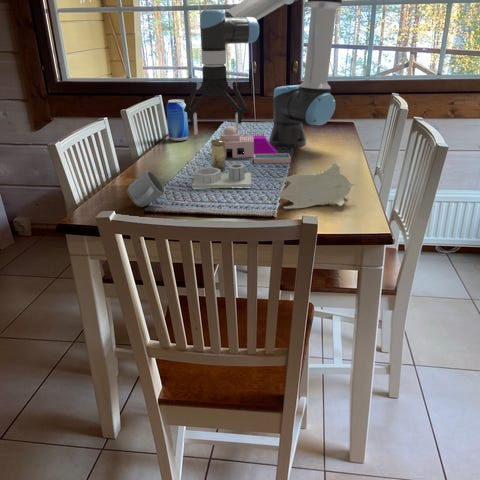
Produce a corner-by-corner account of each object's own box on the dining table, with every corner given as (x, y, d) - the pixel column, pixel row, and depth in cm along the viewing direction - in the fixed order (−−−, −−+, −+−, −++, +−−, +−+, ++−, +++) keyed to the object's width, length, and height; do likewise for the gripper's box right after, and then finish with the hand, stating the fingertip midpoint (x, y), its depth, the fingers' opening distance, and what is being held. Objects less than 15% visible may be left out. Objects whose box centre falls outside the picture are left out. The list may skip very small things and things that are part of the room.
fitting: (225, 167, 161) (224, 139, 156) (225, 171, 157) (224, 142, 152) (212, 167, 161) (211, 139, 156) (212, 172, 157) (210, 142, 152)
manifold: (251, 177, 151) (250, 160, 148) (251, 188, 141) (250, 171, 138) (196, 178, 151) (194, 161, 149) (192, 189, 141) (191, 172, 139)
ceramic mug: (145, 209, 132) (130, 186, 132) (168, 193, 131) (153, 170, 131) (131, 210, 122) (115, 185, 122) (156, 193, 121) (140, 168, 121)
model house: (219, 165, 165) (218, 135, 160) (221, 152, 180) (220, 124, 175) (290, 163, 164) (291, 133, 160) (285, 150, 180) (286, 122, 175)
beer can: (165, 140, 198) (161, 101, 191) (175, 135, 205) (172, 98, 198) (183, 141, 195) (179, 102, 188) (192, 137, 202) (189, 99, 195)
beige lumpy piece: (283, 216, 123) (275, 173, 124) (279, 219, 135) (273, 180, 136) (364, 202, 123) (356, 159, 124) (354, 206, 135) (347, 167, 135)
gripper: (254, 63, 147) (254, 130, 156) (175, 64, 148) (180, 131, 157) (254, 66, 140) (254, 136, 149) (172, 66, 141) (177, 136, 150)
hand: (216, 133), depth 153 cm, fingers open, 13 cm apart
